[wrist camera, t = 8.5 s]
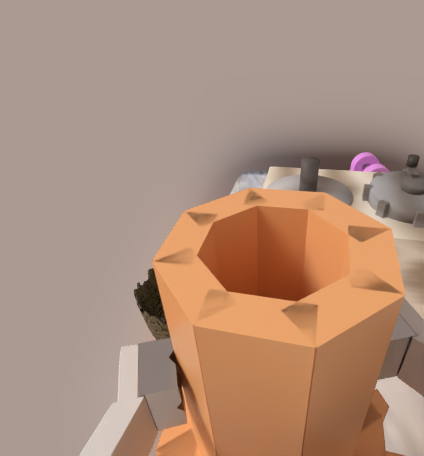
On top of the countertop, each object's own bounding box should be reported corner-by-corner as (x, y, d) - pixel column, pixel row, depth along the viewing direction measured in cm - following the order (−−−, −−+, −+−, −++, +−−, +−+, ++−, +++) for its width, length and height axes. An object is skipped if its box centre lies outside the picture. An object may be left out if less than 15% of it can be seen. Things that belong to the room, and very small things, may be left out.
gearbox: (426, 247, 44) (463, 141, 36) (452, 328, 34) (512, 205, 26) (268, 231, 50) (270, 135, 42) (251, 296, 39) (249, 187, 32)
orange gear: (386, 371, 15) (457, 164, 10) (425, 696, 9) (752, 641, 3) (196, 335, 18) (163, 153, 12) (106, 563, 11) (-64, 392, 5)
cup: (178, 304, 39) (167, 249, 35) (236, 328, 36) (233, 270, 31) (135, 356, 34) (116, 299, 30) (199, 389, 31) (188, 330, 26)
